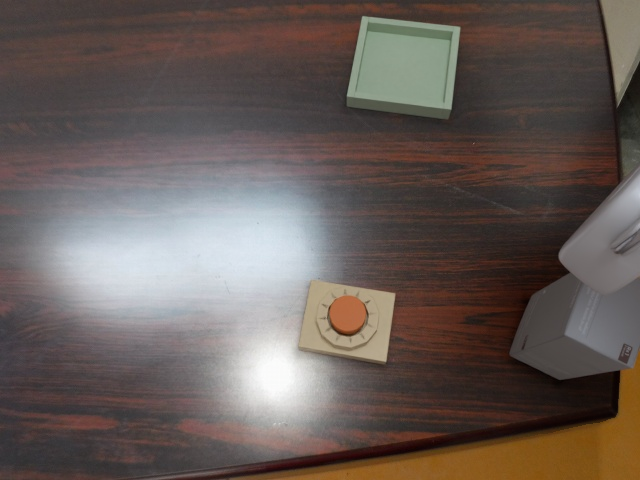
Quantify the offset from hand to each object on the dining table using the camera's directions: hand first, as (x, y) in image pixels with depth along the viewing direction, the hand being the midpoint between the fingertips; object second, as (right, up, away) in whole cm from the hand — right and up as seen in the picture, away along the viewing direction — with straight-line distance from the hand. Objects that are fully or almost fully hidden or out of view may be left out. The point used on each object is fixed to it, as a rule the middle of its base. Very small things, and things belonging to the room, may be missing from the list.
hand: (633, 204), depth 37 cm
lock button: (-19, -11, +23) cm, 31 cm away
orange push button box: (-19, -12, +26) cm, 34 cm away
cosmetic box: (+4, -14, +24) cm, 28 cm away
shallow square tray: (-10, +21, +39) cm, 45 cm away
